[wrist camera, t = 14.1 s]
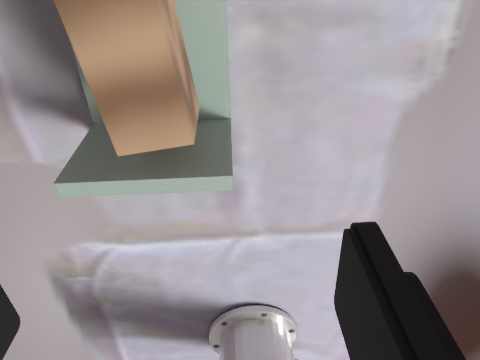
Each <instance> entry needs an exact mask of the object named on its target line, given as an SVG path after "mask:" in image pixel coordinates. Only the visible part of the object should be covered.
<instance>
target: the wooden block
mask: <svg viewBox="0 0 480 360" xmlns="http://www.w3.org/2000/svg"><path fill="white" fill-rule="evenodd" d="M54 3H55V5H56V8H57V10H58V13H59V15H60V17H61V20H62V22H63V25H64V27H65V30H66V32H67V34H68V37H69V39H70V42H71V44H72V46H73V49H74V51H75V54H76V56H77V59H78V61H79V63H80V66H81V68H82V71H83V73H84V76H85V78H86V80H87V83H88V85H89V88H90V90H91V93H92V95H93V97H94V100H95V102H96V105H97V107H98V109H99V112H100V114H101V117H102V119H103V122H104V124H105V126H106V129H107V131H108V134H109V136H110V139H111V141H112V143H113V146H114V148H115V151H116V153H117V156H124V155H130V154H136V153H143V152H149V151H155V150H162V149H168V148H174V147H180V146H187V145H193V144H194V142H195V135H196V128H197V121H198V114H199V102H198V98H197V94H196V90H195V85H194V81H193V77H192V73H191V69H190V65H189V60H188V56H187V52H186V48H185V44H184V39H183V35H182V31H181V27H180V23H179V19H178V14H177V10H176V6H175V2H174V0H54Z"/></svg>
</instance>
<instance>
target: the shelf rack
mask: <svg viewBox="0 0 480 360" xmlns="http://www.w3.org/2000/svg"><path fill="white" fill-rule="evenodd" d="M174 2H175V6H176V10H177V14H178V19H179V23H180V27H181V31H182V35H183V39H184V44H185V48H186V52H187V56H188V60H189V65H190V69H191V73H192V77H193V81H194V85H195V90H196V94H197V98H198V102H199V114H198V121H197V128H196V135H195V142H194V144H193V145H187V146H180V147H174V148H168V149H162V150H155V151H149V152H143V153H136V154H130V155H124V156H117V153H116V151H115V148H114V146H113V143H112V141H111V139H110V136H109V134H108V131H107V129H106V126H105V124H104V122H103V119H102V117H101V114H100V112H99V109H98V107H97V105H96V102H95V100H94V97H93V95H92V93H91V90H90V88H89V85H88V83H87V80H86V78H85V76H84V73H83V71H82V68H81V66H80V63H79V61H78V59H77V56H76V54H75V51H74V49H73V46H72V44H71V42H70V44H71V47H72V51H73V54H74V58H75V61H76V65H77V68H78V72H79V75H80V79H81V82H82V86H83V89H84V93H85V96H86V100H87V103H88V107H89V110H90V114H91V118H92V121H93V126H92V127H91V129H90V130H89V132H88V133H87V135H86V136H85V138H84V139H83V141H82V142H81V144H80V145H79V147H78V148H77V149H76V151H75V152H74V154H73V155H72V157H71V158H70V160H69V161H68V163H67V164H66V166H65V167H64V169H63V170H62V172H61V173H60V175H59V176H58V178H57V179H56V181H55V182H54V186H55V189H56V191H57V194H58V196H59V198H68V197H91V196H114V195H136V194H159V193H182V192H205V191H227V190H233V169H232V140H231V115H230V94H229V72H228V51H227V29H226V8H225V0H174ZM69 40H70V39H69Z"/></svg>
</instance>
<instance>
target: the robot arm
mask: <svg viewBox="0 0 480 360" xmlns="http://www.w3.org/2000/svg"><path fill="white" fill-rule="evenodd" d="M334 304H335V310H336V314H337V317H338V320H339V324H340V327H341V330H342V334H343V337H344V340H345V344H346V347H347V350H348V354H349V357H350V360H466V359H465V357H464V355H463V354H462V352H461V350H460V349H459V347H458V345H457V343H456V342H455V340H454V338H453V337H452V335H451V333H450V331H449V330H448V328H447V326H446V324H445V323H444V321H443V320H442V318H441V316H440V314H439V312H438V311H437V309H436V308H435V306H434V304H433V302H432V300H431V299H430V297H429V295H428V293H427V292H426V290H425V288H424V287H423V285H422V283H421V281H420V280H419V279H418V277H417V276H416V275H415V274H414V273H412V272H403V270H402V268H401V266H400V264H399V263H398V261H397V259H396V257H395V255H394V253H393V251H392V250H391V248H390V246H389V244H388V242H387V240H386V239H385V237H384V235H383V233H382V231H381V229H380V228H379V226H378V224H377V223H376V222H360V223H352V224H351V227H350V229H345V230H344V232H343V239H342V246H341V253H340V260H339V267H338V275H337V282H336V289H335V296H334ZM19 326H20V317H19V315H18V313H17V312H16V310H15V308H14V307H13V305H12V303H11V302H10V300H9V298H8V297H7V295H6V293H5V292H4V290H3V288H2V287H1V285H0V360H2V359H3V357H4V355H5V354H6V352H7V350H8V348H9V346H10V344H11V343H12V341H13V339H14V337H15V335H16V333H17V332H18V329H19ZM297 337H298V332H297V327H296V323H295V321H294V320H293V318H292V317H291V316H289V315H288V314H287V313H285V312H283V311H282V310H279V309H276V308H273V307H269V306H260V305H252V306H244V307H239V308H235V309H232V310H230V311H227V312H225V313H224V314H222V315H220V316H219V317H218V318H217V319H216V320H215V321H214V322H213V323H212V325H211V327H210V330H209V343H210V345H211V347H212V348H213V349H214V350H215V352H217V353H218V354H220V360H297V359H294V357H293V351H292V347H293V345H294V344H295V342H296V340H297Z"/></svg>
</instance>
